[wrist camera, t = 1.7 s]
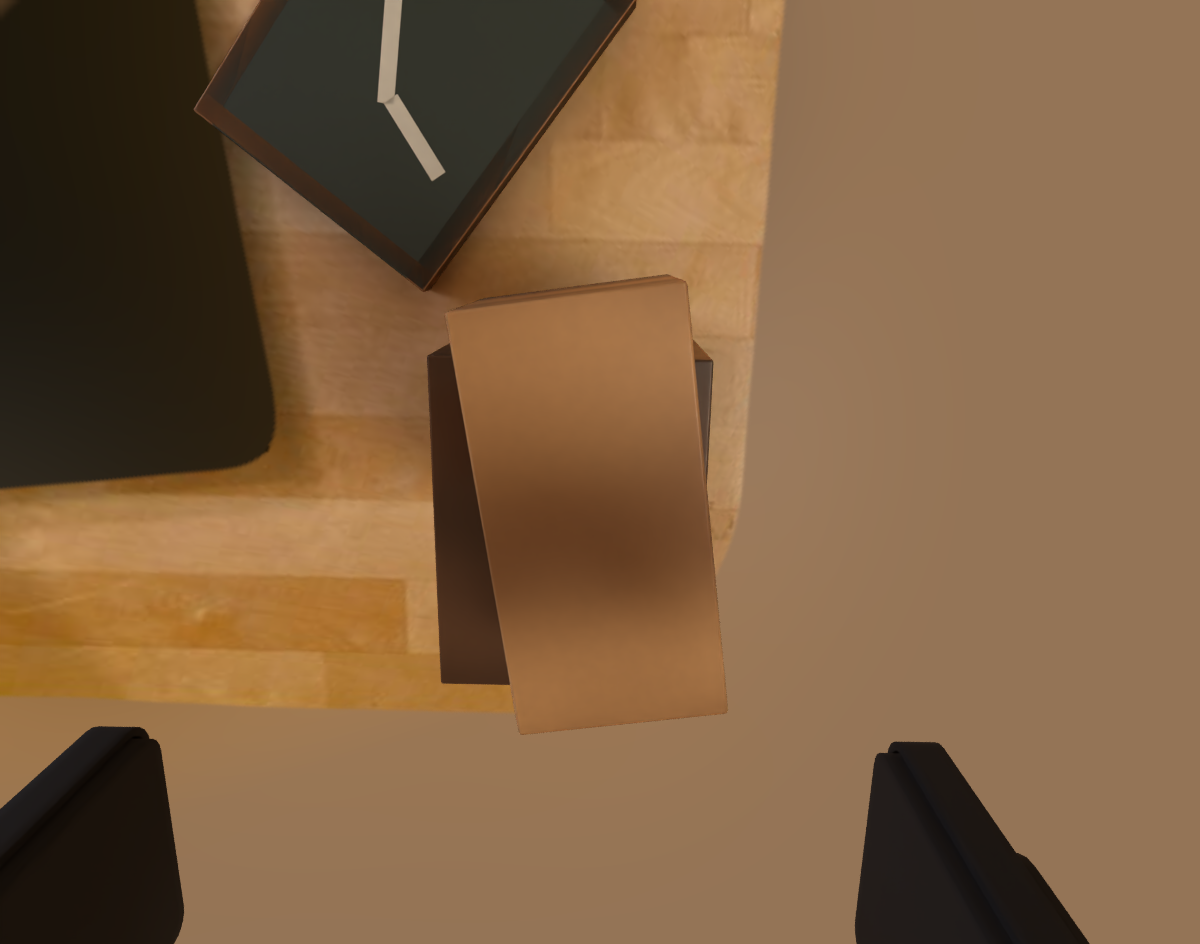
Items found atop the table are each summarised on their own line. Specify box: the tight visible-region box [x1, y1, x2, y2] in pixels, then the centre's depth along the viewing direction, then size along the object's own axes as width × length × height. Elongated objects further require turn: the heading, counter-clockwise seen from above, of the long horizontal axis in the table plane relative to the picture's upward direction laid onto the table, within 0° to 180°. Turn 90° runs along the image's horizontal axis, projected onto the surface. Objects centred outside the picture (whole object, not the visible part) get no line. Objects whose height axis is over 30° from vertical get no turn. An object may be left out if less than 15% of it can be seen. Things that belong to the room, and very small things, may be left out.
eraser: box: [445, 274, 728, 735], centre depth 18 cm, size 9×4×4 cm, turn 7°
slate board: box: [194, 0, 637, 292], centre depth 33 cm, size 15×12×1 cm
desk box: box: [427, 340, 713, 685], centre depth 29 cm, size 9×7×18 cm
